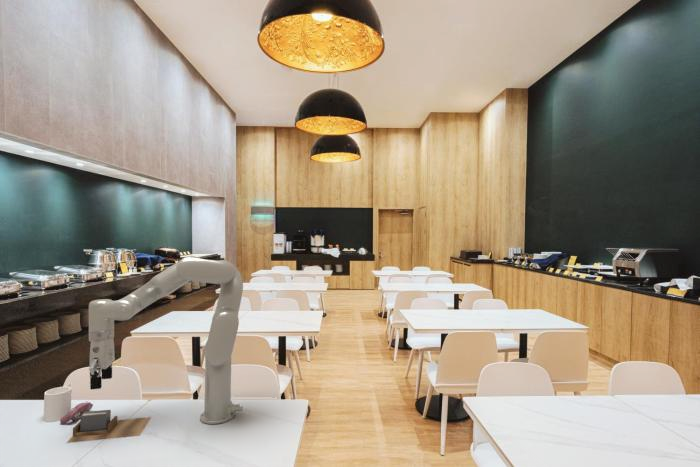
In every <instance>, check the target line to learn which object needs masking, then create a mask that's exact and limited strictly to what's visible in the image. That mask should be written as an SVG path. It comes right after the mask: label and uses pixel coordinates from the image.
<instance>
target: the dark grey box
mask: <svg viewBox="0 0 700 467" xmlns="http://www.w3.org/2000/svg"><path fill="white" fill-rule="evenodd" d="M111 413H112V411H111V409H105V410H89V411H88V412H85V413H84V414H83V415H81V417H80V421H79V422H80V432H90V431H101V430H107V425H108V424H109V423H110V421H111V420H112V419H111Z"/></svg>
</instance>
